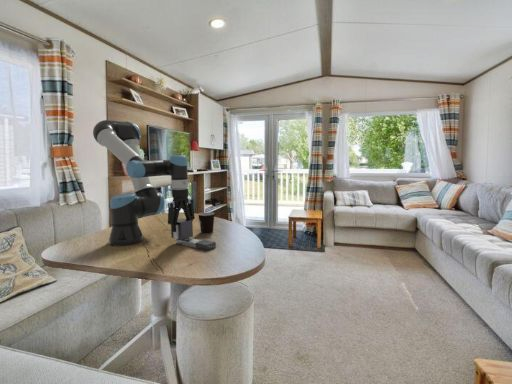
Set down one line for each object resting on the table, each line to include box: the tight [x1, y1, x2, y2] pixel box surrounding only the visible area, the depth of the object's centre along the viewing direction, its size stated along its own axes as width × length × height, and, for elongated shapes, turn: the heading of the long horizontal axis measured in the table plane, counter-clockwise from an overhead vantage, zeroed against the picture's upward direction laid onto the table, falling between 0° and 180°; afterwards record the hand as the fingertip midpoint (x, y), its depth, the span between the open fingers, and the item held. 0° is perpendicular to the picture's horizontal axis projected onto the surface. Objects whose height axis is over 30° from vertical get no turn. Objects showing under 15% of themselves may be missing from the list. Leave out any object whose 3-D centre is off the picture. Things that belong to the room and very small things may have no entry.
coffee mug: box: [197, 212, 215, 234], centre depth 158 cm, size 12×9×10 cm
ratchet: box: [175, 237, 217, 252], centre depth 133 cm, size 22×6×6 cm, turn 56°
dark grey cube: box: [170, 218, 194, 240], centre depth 137 cm, size 7×7×8 cm
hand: (182, 236), depth 137 cm, fingers closed on dark grey cube, 7 cm apart
